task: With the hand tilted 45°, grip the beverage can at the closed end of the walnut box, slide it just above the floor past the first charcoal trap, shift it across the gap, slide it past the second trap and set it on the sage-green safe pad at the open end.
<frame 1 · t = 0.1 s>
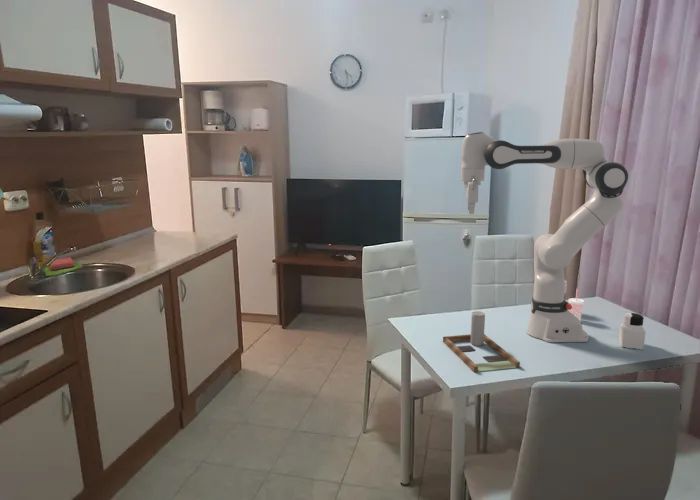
hand: (471, 212, 197), 48 cm above the table, tool pointing down, fingers open, 8 cm apart
beverage cup: (574, 320, 216), on the table
beverage can: (476, 344, 192), resting in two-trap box
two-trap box: (479, 354, 182), on the table
syrup box: (555, 311, 229), on the table
medicine bottle: (630, 345, 190), on the table
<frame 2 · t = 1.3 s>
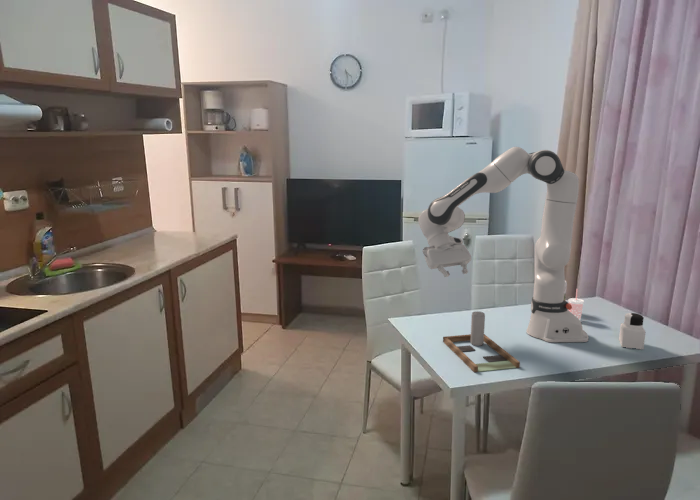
hand: (456, 274, 198), 24 cm above the table, tool tilted 45°, fingers open, 8 cm apart
nothing on the table moved.
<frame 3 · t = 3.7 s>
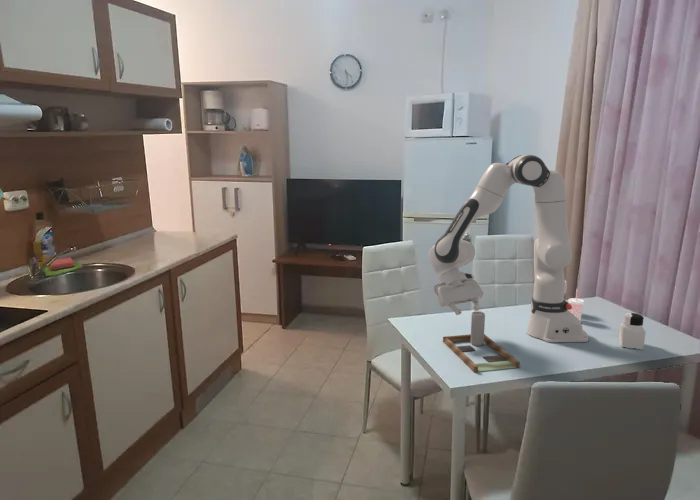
hand: (468, 312, 194), 11 cm above the table, tool tilted 45°, fingers open, 8 cm apart
nothing on the table moved.
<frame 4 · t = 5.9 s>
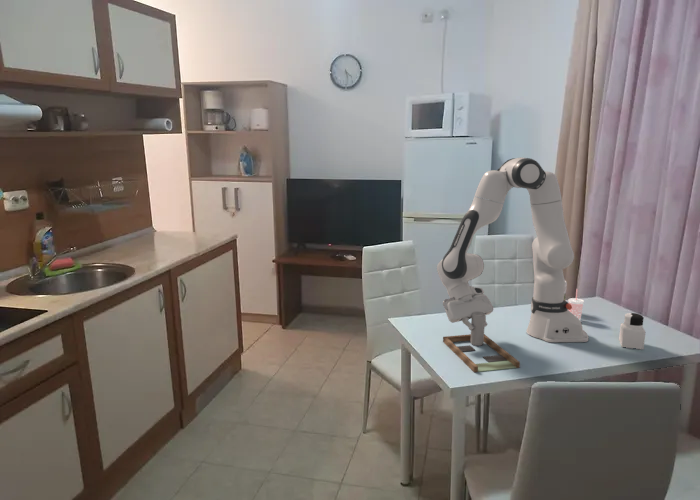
hand: (479, 327, 190), 7 cm above the table, tool tilted 45°, fingers closed on beverage can, 5 cm apart
beverage can: (476, 344, 192), resting in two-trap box, touching gripper
everything else where it was.
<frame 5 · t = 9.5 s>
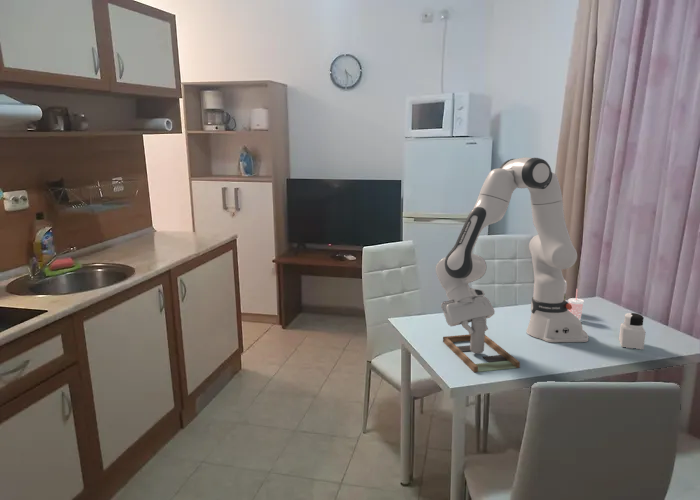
hand: (479, 331, 180), 9 cm above the table, tool tilted 45°, fingers closed on beverage can, 5 cm apart
beverage can: (476, 351, 182), point 1 cm above the table, touching gripper
everything else where it was.
when the fingers open (8 cm above the table, at t = 13.1 s): beverage can stays where it is, resting on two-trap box.
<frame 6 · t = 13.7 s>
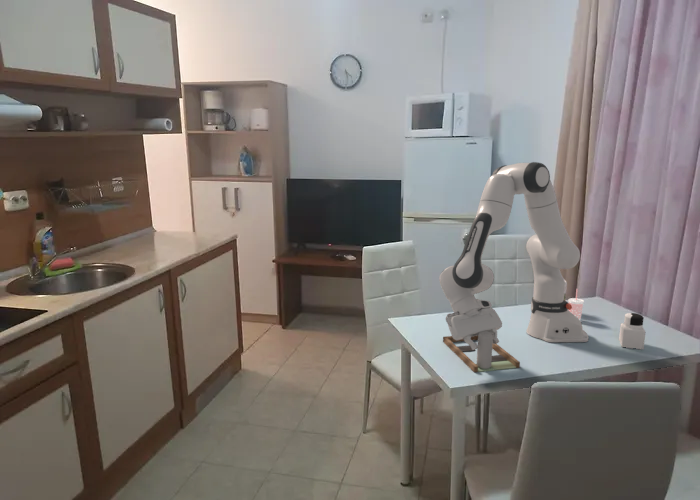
hand: (486, 346, 170), 8 cm above the table, tool tilted 45°, fingers open, 8 cm apart
beverage can: (483, 367, 172), resting on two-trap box
everything else where it was.
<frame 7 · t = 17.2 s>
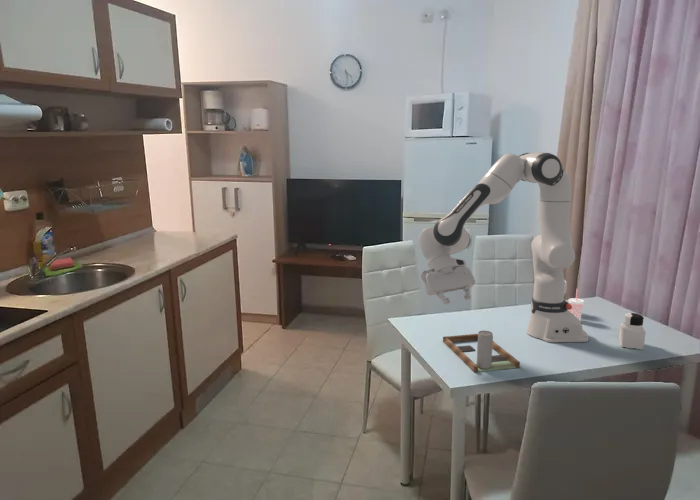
hand: (458, 301, 181), 19 cm above the table, tool tilted 40°, fingers open, 8 cm apart
nothing on the table moved.
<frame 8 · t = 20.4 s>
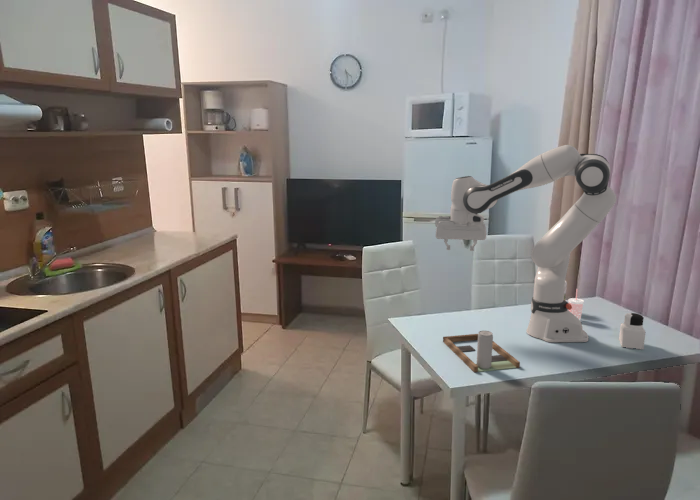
hand: (460, 250, 209), 31 cm above the table, tool pointing down, fingers open, 8 cm apart
nothing on the table moved.
at the end: beverage can inside the target area on the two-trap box (1.7 cm from its centre), point 0.1 cm above the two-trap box's base; beverage can tilted 0°; the gripper is holding nothing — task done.
